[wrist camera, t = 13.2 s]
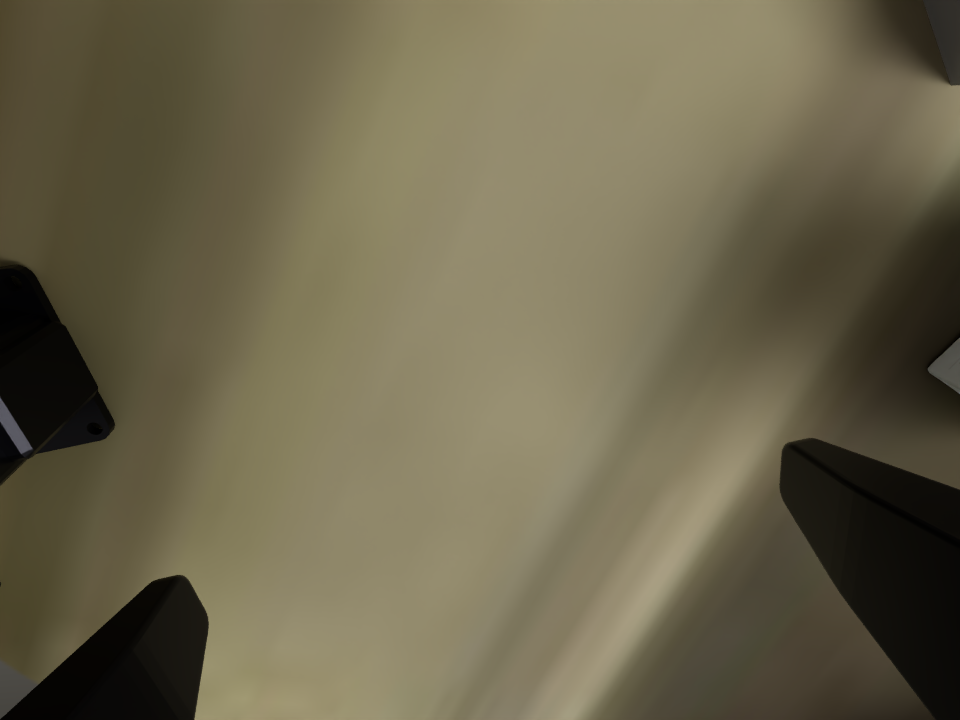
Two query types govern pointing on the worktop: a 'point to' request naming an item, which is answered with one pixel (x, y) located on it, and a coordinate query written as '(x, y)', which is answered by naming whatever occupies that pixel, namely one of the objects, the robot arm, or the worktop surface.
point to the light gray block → (947, 33)
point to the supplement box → (948, 366)
